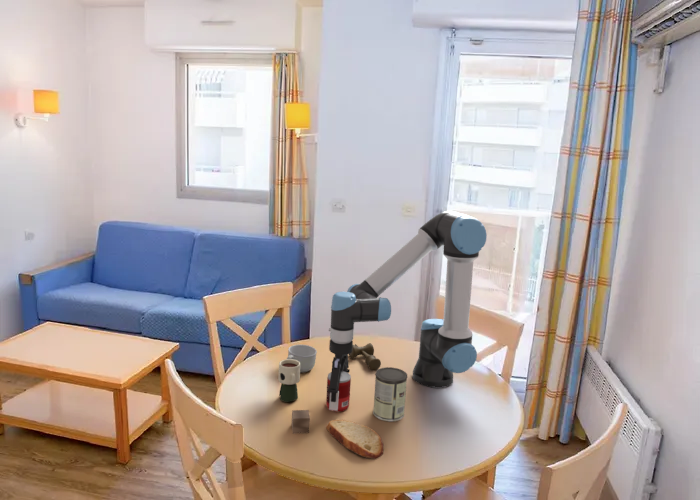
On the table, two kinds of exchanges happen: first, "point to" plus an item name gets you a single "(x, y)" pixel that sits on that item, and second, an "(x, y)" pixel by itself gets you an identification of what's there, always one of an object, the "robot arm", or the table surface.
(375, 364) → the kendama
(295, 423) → the metal block
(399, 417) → the coffee can
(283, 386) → the character mug
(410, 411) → the table surface
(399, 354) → the table surface
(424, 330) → the robot arm
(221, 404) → the table surface
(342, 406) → the canned food
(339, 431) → the slice of bread
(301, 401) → the table surface
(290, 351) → the teacup
